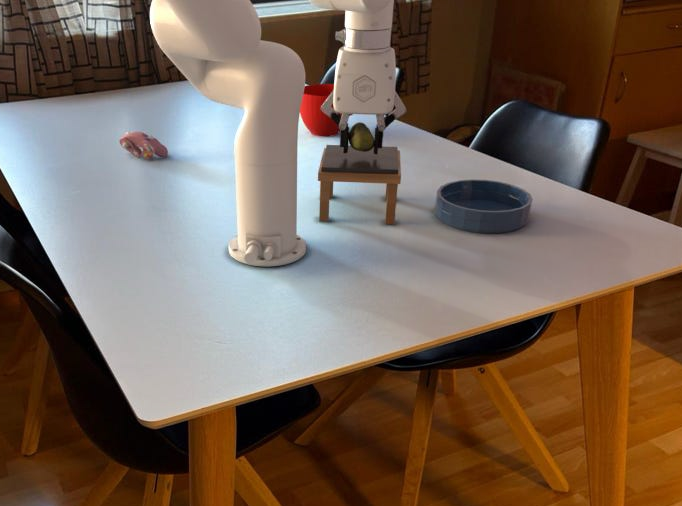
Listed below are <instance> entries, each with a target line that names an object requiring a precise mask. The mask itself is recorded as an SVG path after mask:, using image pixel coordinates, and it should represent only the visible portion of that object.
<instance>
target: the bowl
mask: <svg viewBox="0 0 682 506" xmlns="http://www.w3.org/2000/svg"><path fill="white" fill-rule="evenodd" d="M435 196H436V197H435V204H434V214H435V216H437V218H438V220H440V222H442V223H444V224H445V225H447V226H449V227H452V228H455V229H457V230H461V231H465V232H469V233H476V234H503V233H509V232H513V231H516V230H519V229H521V228H522V227H524V226H525V225H526V224H528V222H529V219H530V216H531V210H532V205H533V197H532V195H531V194H530V193H529V192H528V191H527V190H525V189H524V188H523V187H522V188H521V187H519V186H516V185H514V184H510V183H507V182H503V181H497V180H492V179H491V180H490V179H472V178H471V179H459V180H455V181H450V182H447V183H444V184H443V185H441V186H439V187H438V189H437V190H436V195H435Z"/></svg>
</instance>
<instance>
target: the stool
mask: <svg viewBox="0 0 682 506" xmlns="http://www.w3.org/2000/svg"><path fill="white" fill-rule="evenodd" d="M398 149H399V147H398V146H383V145H382V148H378V154H373V153H374V147H373V148H372V149H371V150H370V151H367V152H362V151H358V150H355V149H353V148H352V147H351V146H350V144H348V153H343V150H344V147H340V144H326V147H324V148H323V150H322V156H321V159H320V163H319V166H318V172H317V182H319V213H318V215H319V216H318V217H319V218H318V221H319V222H325V223H328V222H329V220H330V199H333V197H334V183H358V184H359V183H362V184H385V196H384V201H385V202H386V204H385V217H384V225H395V221H396V220H395V219H396V209H397V199H398V198H397V197H398V187H399V185H401V182H402V167H401V150H400V149H399V150H398Z"/></svg>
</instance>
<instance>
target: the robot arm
mask: <svg viewBox="0 0 682 506" xmlns="http://www.w3.org/2000/svg"><path fill="white" fill-rule="evenodd" d="M307 1H308V3H310V4H311V5H313V6H315V7H316V8H319V9H322V10H323V9H324V10H331V11H332V10H333V11H345V12H344V13H345V14H344V28H343V29H342V30H340V31H337V30H336V31H335V36H334V37H335V41H339V42H341V43H342V44H343V46H341V47H340V48H339V49H338V53H337V58H336V63H335V70H334V71H335V72H334V83H333V84H334V90H333V92H332V93H331V94H330V95H329V97H328V98H327V99H326V101H325V102H324V103H323V105H322V106H321V110H322V111H323V112H324V113H325V114H326V115H328V116H329V117H330V118H331V119H332V120H333V121H334V122H335V123H336V124H337V126H338V127H339V129H340V131H339V133H340V134H339V145H340V147H344V150H343V153H348V145H349V139H348V138H349V132H350V127H349V123H348V122H349V118H350V116H349V115H350V114H353V115H371V116H372V115H373V116H375V118H376V127H374V153H373V154H378V148H382V146H383V142H384V141H383V140H384V131H386V129H387V128H388V127H389V126H390V125H391V124H393V122H394V121H395V120H396V119H399V118H400V117H401V116H403V115H404V114H405V113H407V108H406V106H405V104H404V102H403V101H402V99H401V98H400V96H399V94H398V93H397V91H396V81H397V80H396V79H397V78H396V77H397V71H396V70H397V68H396V67H397V62H396V52H395V49H394V47H391V44H392V43H391V42H392V29H393V19H394V18H393V17H394V5H395V3H394V2H395V0H307ZM149 9H150V10H149V20H150V21H149V22H150V27H151V31H152V34H153V37H154V39H155V42H156V44H157V45H158V47H159V48H160V49H161V51H162V52H163V53H164V54H165V56H167V58H168V59H169V60H170V62H172V63H173V65H174V66H175V67H176V68H177V70H178V71H180V73H181V74H182V75H183V76H184V77H185V78H186V79H187V81H188V82H189V83H190V84H191V85H192V86H193V87H194V88H195V89H196V91H198V93H200V94H201V95H202V96H204V97H205V98H206V99H208V100H209V101H211V102H214V103H218V104H221V105H223V106H224V105H225V106H229V107H234V108H238V109H239V110H240V109H241V110H243V111H244V113H243V117H242V120H241V122H240V124H239V125H238V128H237V130H236V132H235V136H234V144H233V145H234V146H233V147H234V148H233V149H234V150H233V153H234V154H233V155H234V173H235V198H236V199H235V201H236V225H237V226H236V227H237V235H236V236H234V237H233V238H232V239H231V240H230V241H229V243H228V253H229V255H230V257H231V258H233V259H234V260H236V261H238V262H239V263H241V264H244V265H249V266H253V267H265V268H267V267H268V268H269V267H278V266H284V265H289V264H291V263H294V262H297V261H299V260H300V259H301V258H303V257H304V256H305V254H306V253H307V252H306V251H307V243H306V240H305V239H304V238H302V237H301V236H300V235H299V234H298V233H297V232H298V231H297V230H298V229H297V226H298V225H297V223H298V220H297V219H298V141H299V139H298V138H299V135H298V134H299V121H300V108H301V103H302V98H303V93H304V88H305V86H306V77H307V76H306V69H305V66H304V65H305V64H304V63H303V61H302V59H301V57H300V55H299V54H298V53H297V52H296V51H294V50H293V49H292V48H290V47H288V46H286V45H284V44H281V43H278V42H274V41H268V40H262V25H261V20H260V18H259V14H258V12H257V10H256V8H255V7H254V4H253V3H252V1H251V0H152V1H151V4H150V8H149ZM332 104H333V106H334V109H333V108H332V107H331V106H332ZM394 107H395V109H394ZM338 112H339V113H342V116H341V115H340V114H339V113H338Z"/></svg>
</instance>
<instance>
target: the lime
mask: <svg viewBox="0 0 682 506" xmlns="http://www.w3.org/2000/svg"><path fill="white" fill-rule="evenodd" d="M374 138H375V136H374V135H373V133H372V131H371V130H370V128H369V127H368V126H367V125H366V123H364V122H361V121H360V122H356V123H355V124H353V125H352V126H351V128H350V129H349V138H348V139H349V142H348V145H350V146H351V147H352V148H353V149H355V150H358V151H362V152H367V151H370V150H371V149H372V148H373V147H374Z"/></svg>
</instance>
